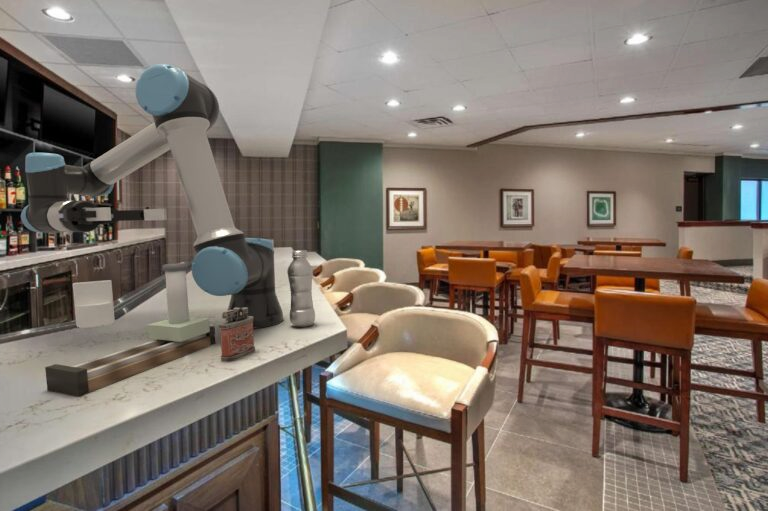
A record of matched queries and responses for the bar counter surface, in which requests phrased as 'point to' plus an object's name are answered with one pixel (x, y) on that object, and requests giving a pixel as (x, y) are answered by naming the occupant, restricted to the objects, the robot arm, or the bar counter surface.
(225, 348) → the lighter
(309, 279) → the plastic bottle
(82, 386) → the rail track
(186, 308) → the carriage
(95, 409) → the bar counter surface
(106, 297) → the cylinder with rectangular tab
